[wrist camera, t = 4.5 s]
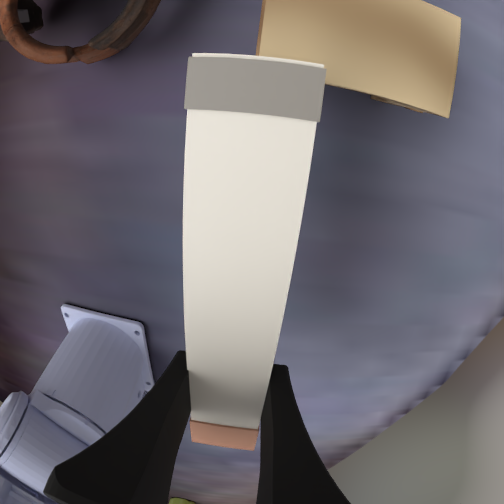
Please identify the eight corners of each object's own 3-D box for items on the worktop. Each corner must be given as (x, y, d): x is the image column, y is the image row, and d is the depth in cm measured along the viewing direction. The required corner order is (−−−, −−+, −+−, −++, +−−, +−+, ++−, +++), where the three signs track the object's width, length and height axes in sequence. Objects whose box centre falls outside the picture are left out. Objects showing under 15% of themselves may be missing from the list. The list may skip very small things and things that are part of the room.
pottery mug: (151, -92, 8) (149, -127, 4) (181, 17, 16) (195, 41, 11) (-14, -9, 8) (-81, 17, 3) (29, 86, 16) (-14, 145, 11)
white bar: (257, 405, 15) (253, 452, 12) (202, 397, 15) (191, 443, 12) (312, 75, 8) (327, 64, 5) (215, 65, 8) (189, 52, 6)
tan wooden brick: (395, 106, 14) (456, 122, 8) (258, 79, 14) (245, 73, 8) (405, 37, 12) (468, 21, 6) (267, 8, 12) (260, -38, 6)
